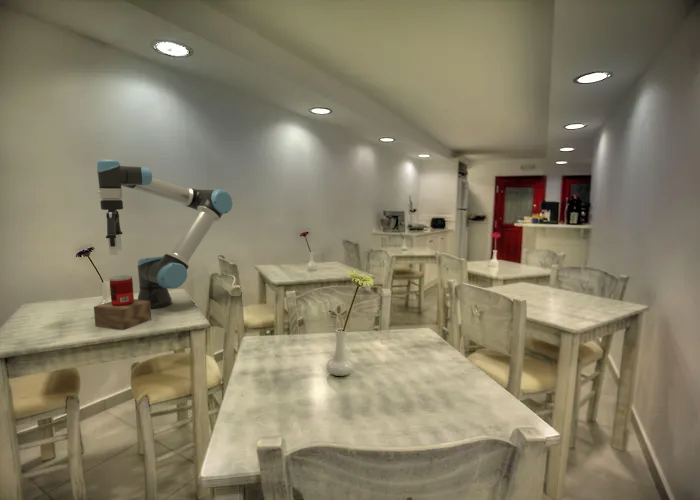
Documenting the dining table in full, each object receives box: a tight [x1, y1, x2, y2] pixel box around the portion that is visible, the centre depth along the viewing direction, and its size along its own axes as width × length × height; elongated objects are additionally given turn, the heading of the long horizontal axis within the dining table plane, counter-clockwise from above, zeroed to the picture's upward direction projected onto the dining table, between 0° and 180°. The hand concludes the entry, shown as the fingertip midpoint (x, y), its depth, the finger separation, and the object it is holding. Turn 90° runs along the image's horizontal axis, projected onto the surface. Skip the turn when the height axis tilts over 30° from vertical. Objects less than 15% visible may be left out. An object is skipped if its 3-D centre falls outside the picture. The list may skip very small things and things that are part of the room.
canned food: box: [109, 274, 135, 306], centre depth 154 cm, size 8×8×11 cm
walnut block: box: [93, 298, 152, 331], centre depth 155 cm, size 14×14×8 cm
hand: (116, 252), depth 154 cm, fingers open, 13 cm apart
